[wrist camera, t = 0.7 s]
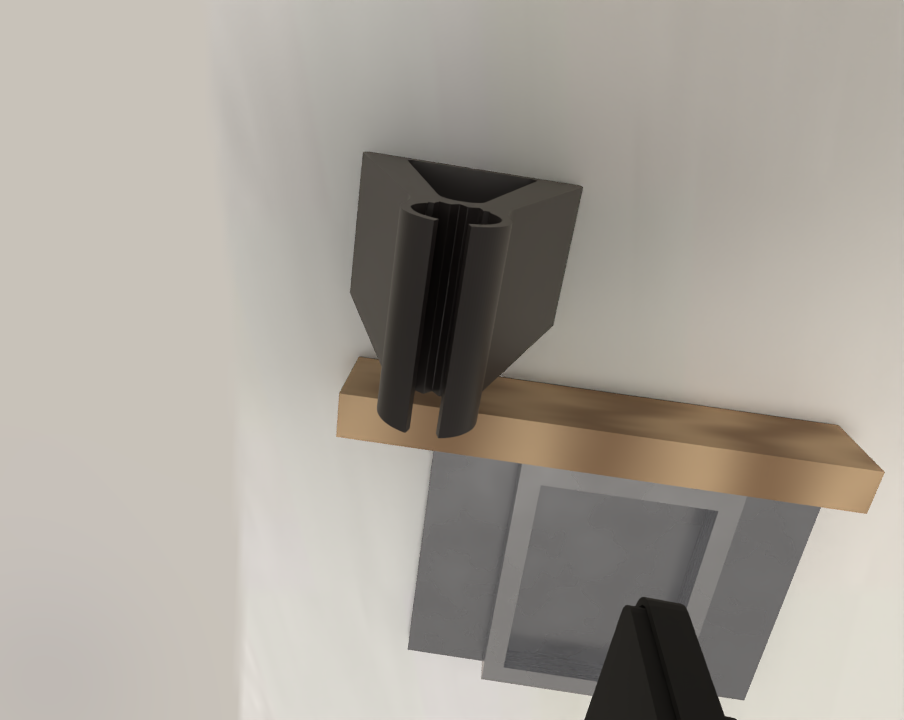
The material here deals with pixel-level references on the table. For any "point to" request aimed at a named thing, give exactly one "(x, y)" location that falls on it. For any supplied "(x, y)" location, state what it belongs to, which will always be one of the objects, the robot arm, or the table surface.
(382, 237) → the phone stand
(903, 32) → the table surface
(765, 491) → the door edge rail
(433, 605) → the keeper plate
